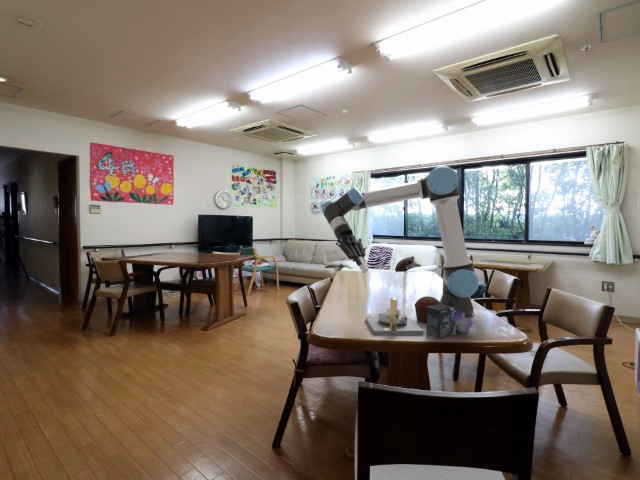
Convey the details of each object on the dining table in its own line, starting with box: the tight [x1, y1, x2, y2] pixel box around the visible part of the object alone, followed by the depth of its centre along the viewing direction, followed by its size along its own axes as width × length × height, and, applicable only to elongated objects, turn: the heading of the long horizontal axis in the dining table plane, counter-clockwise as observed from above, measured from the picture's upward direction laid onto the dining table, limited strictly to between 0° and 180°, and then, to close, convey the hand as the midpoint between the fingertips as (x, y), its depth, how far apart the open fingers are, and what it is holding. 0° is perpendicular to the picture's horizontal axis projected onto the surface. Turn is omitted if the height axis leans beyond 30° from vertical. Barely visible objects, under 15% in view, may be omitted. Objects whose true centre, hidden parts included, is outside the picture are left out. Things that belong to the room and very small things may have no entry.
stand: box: [365, 316, 424, 336], centre depth 127 cm, size 18×17×2 cm
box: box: [426, 304, 454, 340], centre depth 118 cm, size 8×6×11 cm
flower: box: [453, 310, 474, 337], centre depth 121 cm, size 9×9×10 cm
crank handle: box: [377, 297, 408, 330], centre depth 125 cm, size 16×11×11 cm
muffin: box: [414, 295, 441, 325], centre depth 135 cm, size 12×11×10 cm
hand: (365, 271), depth 131 cm, fingers closed
